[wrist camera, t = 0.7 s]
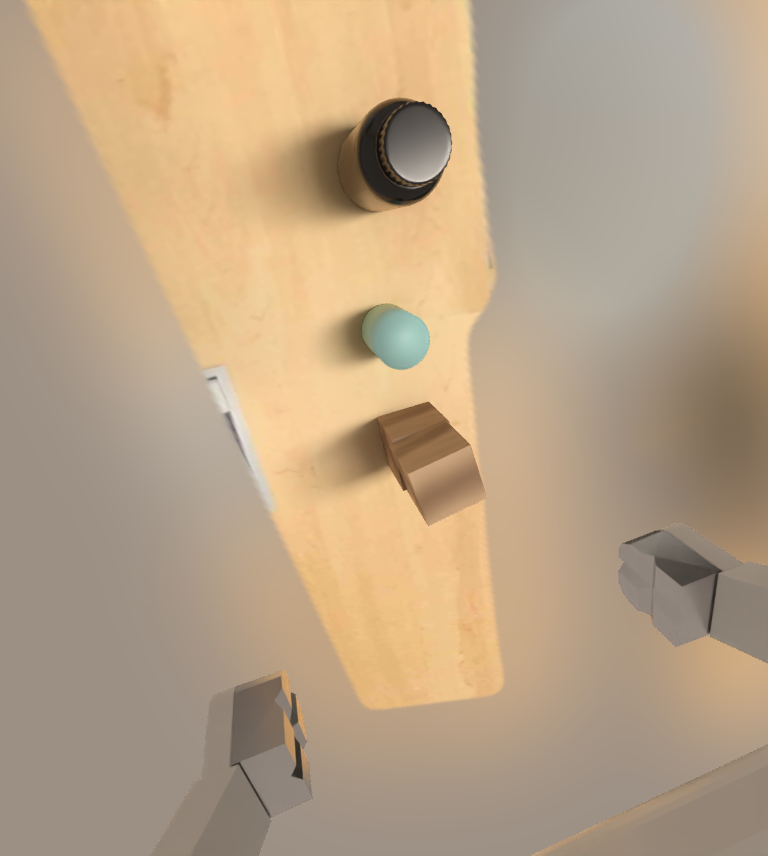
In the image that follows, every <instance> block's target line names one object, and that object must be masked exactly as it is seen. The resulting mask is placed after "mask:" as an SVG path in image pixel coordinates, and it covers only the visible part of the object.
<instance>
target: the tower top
mask: <svg viewBox="0 0 768 856" xmlns="http://www.w3.org/2000/svg"><path fill="white" fill-rule="evenodd" d="M389 446H390V449H391V451H392V454H393V456H394V459H395V461H396V463H397V466H398V468H399V471H400V473H401V476H402V478H403V481H404V483H405V486H406V488H407V490H408V493H409V494H410V496H411V498H412V500H413V501H414V503H415V505H416V506H417V508H418V510H419V511H420V513H421V515H422V516H423V518H424V520H425V521H426V523H427V525H428V526H429V525H431V524H434V523H436V522H438V521H440V520H442V519H444V518H446V517H448V516H450V515H452V514H454V513H457V512H459V511H461V510H463V509H465V508H467V507H469V506H471V505H473V504H475V503H477V502H479V501H482V500H484V499H486V498H487V496H486V493H485V490H484V487H483V483H482V480H481V477H480V474H479V470H478V467H477V464H476V461H475V458H474V454H473V451H472V448H471V445H470V444H469V443H468V442H467V441H466V440H465V439H464V438H463V437H462V436H461V435H460V434H459V433H458V432H457V431H456V430H455V429H454V428H453V427H452V426H451V425H450V424H449V423H448V422H447V421H446V420H443V421H441V422H438V423H436V424H434V425H432V426H430V427H428V428H425V429H423V430H421V431H419V432H417V433H415V434H412V435H410V436H408V437H406V438H404V439H401V440H399V441H397V442H395V443H393V444H391V445H389Z"/></svg>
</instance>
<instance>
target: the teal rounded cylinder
mask: <svg viewBox="0 0 768 856" xmlns="http://www.w3.org/2000/svg"><path fill="white" fill-rule="evenodd" d="M361 330H362V337H363V340H364V342H365V344H366V345H367V346H368V347H369V348H370V349H371V350H372V351H373V352H374V353H375V354H376V355H377V356H378V357H379V358H380V359H381V360H382V361H383V362H384V363H385V364H386V365H387V366H389V367H391V368H394V369H400V370H402V369H408V368H411V367H413V366H415V365H417V364H418V363H419V362H420V361H421V360H422V359H423V358H424V357H425V355H426V353H427V351H428V348H429V344H430V335H429V331H428V328H427V326H426V325H425V323H424V322H423V321H422V320H421V319H420V318H418V317H417V316H415V315H413V314H411V313H409V312H407V311H405V310H403V309H401V308H400V307H398V306H396V305H393V304H381V305H378V306H376V307H374V308H372V309H371V310H370V311H369V312H368V313H367V315H366V316H365V318H364V320H363V323H362V329H361Z"/></svg>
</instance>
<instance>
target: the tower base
mask: <svg viewBox="0 0 768 856" xmlns="http://www.w3.org/2000/svg"><path fill="white" fill-rule="evenodd" d="M443 420H446V421H447V422H448V423H449V421H448V420H447V419H446V418H445V417H444V416H443V415H442V414H441V413H440V412H439V411H438V410H437V409H436V408H435V407H434V406H433V405H432V404H431V403H430V402H426V403H422V404H419V405H416V406H413V407H409V408H406V409H403V410H400V411H396V412H393V413H390V414H386V415H383V416H380V417H377V421H378V425H379V429H380V433H381V437H382V441H383V446H384V450H385V454H386V458H387V462H388V465H389V467H390V469H391V470H392V472H393V474H394V476H395V477H396V479H397V481H398V482H399V484H400V486H401V488H402V489H403V491H405V490H407V488H406V486H405V483H404V481H403V478H402V476H401V473H400V471H399V468H398V466H397V463H396V461H395V459H394V456H393V454H392V451H391V449H390V446H389V445H391V444H393V443H395V442H397V441H399V440H401V439H404V438H406V437H408V436H410V435H412V434H415V433H417V432H419V431H421V430H423V429H425V428H428V427H430V426H432V425H434V424H436V423H438V422H441V421H443ZM449 424H450V423H449Z"/></svg>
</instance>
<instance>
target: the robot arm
mask: <svg viewBox="0 0 768 856" xmlns="http://www.w3.org/2000/svg"><path fill="white" fill-rule="evenodd" d="M619 557H620V558H621V559H622V560H623V561H624V563H623V565H622V566H621V568H620V569H619V571H618V573H619V584H620V586H621V589H622V591H623V593H624V595H625V596H626V597H627V599H628V600H629V602H630V603H631V604H632V605H633V606H634V607H635V608H636V609H637V610H639V611H642V612H645V613H648V614H650V615H651V619H652V624H653V625H654V626H655V627H656V628H657V629H658V630H659V631H660V632H661V633H662V634H663V635H664V636H665V637H666V638H667V639H668V640H669V641H670V642H671V643H672V644H674V646H675V647H677V646H680V645H683V644H685V643H688V642H691V641H693V640H696V639H699V638H701V637H704V636H706V635H709V634H710V637H712V638H714V639H716V640H718V641H720V642H723V643H725V644H727V645H729V646H731V647H733V648H736V649H738V650H740V651H742V652H744V653H747V654H749V655H751V656H753V657H755V658H758V659H760V660H762V661H764V662H766V663H768V566H765V565H762V564H758V563H754V562H746V563H742V562H741V561H739V560H738V559H736V558H735V557H733V556H732V555H730V554H729V553H727V552H726V551H724V550H723V549H721V548H720V547H718V546H717V545H715V544H714V543H712V542H711V541H709V540H708V539H706V538H705V537H703V536H702V535H700V534H699V533H697V532H696V531H694V530H693V529H691V528H689V527H688V526H686V525H685V524H682V523H675V524H672V525H670V526H667V527H664V528H662V529H659V530H656V531H653V532H650V533H648V534H645V535H643V536H640V537H638V538H635V539H633V540H630V541H627V542H625V543H622V544H621V546H620V548H619ZM306 742H307V739H306V730H305V724H304V719H303V714H302V710H301V707H300V704H299V701H298V699H297V696H296V694H294V693H291V692H290V681H289V678H288V676H287V675H286V672H285V671H279V672H277V673H274V674H271V675H268V676H265V677H262V678H259V679H256V680H253V681H250V682H247V683H245V684H242V685H239V686H236V687H234V688H231V689H228V690H225V691H222V692H219V693H217V694H214V695H212V697H211V699H210V702H209V705H208V715H207V725H206V736H205V745H204V755H203V765H202V775H201V779H199V780H196V781H194V782H193V783H192V785H191V787H190V789H189V790H188V792H187V794H186V795H185V797H184V799H183V800H182V802H181V804H180V805H179V807H178V809H177V811H176V812H175V814H174V816H173V817H172V819H171V821H170V822H169V824H168V826H167V827H166V829H165V831H164V832H163V834H162V836H161V838H160V839H159V841H158V843H157V844H156V846H155V848H154V849H153V851H152V853H151V854H150V856H259V853H260V851H261V848H262V845H263V842H264V840H265V837H266V834H267V831H268V828H269V825H270V823H271V820H270V818H271V817H273V816H275V815H278V814H280V813H282V812H284V811H287V810H289V809H291V808H293V807H295V806H298V805H300V804H302V803H304V802H306V801H308V800H311V799H312V788H311V779H310V767H309V762H308V760H307V758H306V756H305V754H304V751H303V748H304V746H305V744H306ZM531 856H768V744H767V745H765V746H763V747H761V748H759V749H757V750H755V751H753V752H750V753H748V754H746V755H744V756H742V757H740V758H737V759H735V760H733V761H731V762H729V763H727V764H725V765H723V766H721V767H718V768H716V769H714V770H712V771H710V772H708V773H706V774H703V775H701V776H699V777H697V778H695V779H693V780H691V781H688V782H686V783H684V784H682V785H680V786H678V787H676V788H673V789H671V790H669V791H667V792H665V793H663V794H661V795H659V796H656V797H655V798H652V799H650V800H648V801H646V802H644V803H641V804H639V805H637V806H635V807H633V808H631V809H629V810H627V811H625V812H622V813H620V814H618V815H616V816H614V817H612V818H609V819H608V820H605V821H603V822H601V823H599V824H597V825H595V826H593V827H590V828H588V829H586V830H584V831H582V832H580V833H577V834H575V835H573V836H571V837H569V838H567V839H565V840H563V841H560V842H558V843H556V844H554V845H552V846H550V847H548V848H546V849H544V850H541V851H539V852H537V853H535V854H533V855H531Z"/></svg>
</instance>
